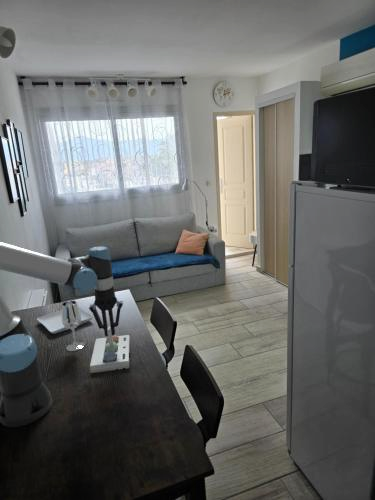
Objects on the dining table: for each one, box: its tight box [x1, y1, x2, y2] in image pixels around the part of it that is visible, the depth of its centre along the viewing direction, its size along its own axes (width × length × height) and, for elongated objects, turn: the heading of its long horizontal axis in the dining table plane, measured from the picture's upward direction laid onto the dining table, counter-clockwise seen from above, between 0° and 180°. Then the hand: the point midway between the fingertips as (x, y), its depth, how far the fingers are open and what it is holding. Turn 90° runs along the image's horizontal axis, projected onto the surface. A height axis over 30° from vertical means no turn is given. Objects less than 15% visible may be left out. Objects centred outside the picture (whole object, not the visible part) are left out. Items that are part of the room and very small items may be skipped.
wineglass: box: [61, 300, 86, 352], centre depth 136 cm, size 8×8×20 cm
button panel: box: [89, 334, 131, 374], centre depth 130 cm, size 20×14×3 cm
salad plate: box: [36, 306, 94, 334], centre depth 161 cm, size 21×21×3 cm
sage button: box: [105, 342, 117, 352], centre depth 130 cm, size 4×4×3 cm
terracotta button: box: [105, 333, 118, 343], centre depth 136 cm, size 4×4×3 cm
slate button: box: [104, 350, 116, 363], centre depth 123 cm, size 4×4×3 cm
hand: (111, 342), depth 129 cm, fingers closed
